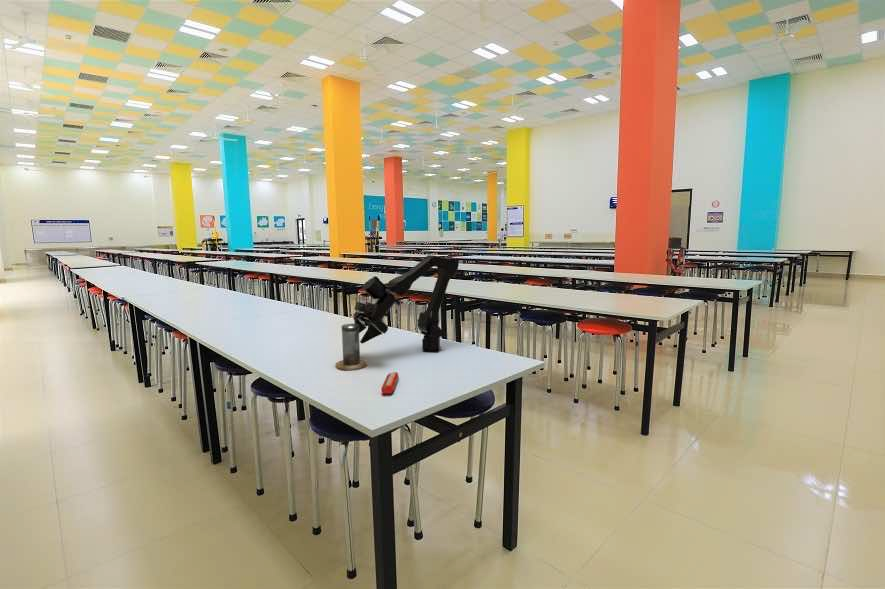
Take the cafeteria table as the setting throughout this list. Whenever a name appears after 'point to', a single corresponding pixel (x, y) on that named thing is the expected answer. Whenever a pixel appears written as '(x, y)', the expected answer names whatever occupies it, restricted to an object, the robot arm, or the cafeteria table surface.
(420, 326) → the robot arm
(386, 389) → the red rounded bar
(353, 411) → the cafeteria table surface
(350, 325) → the tumbler
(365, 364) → the coaster
